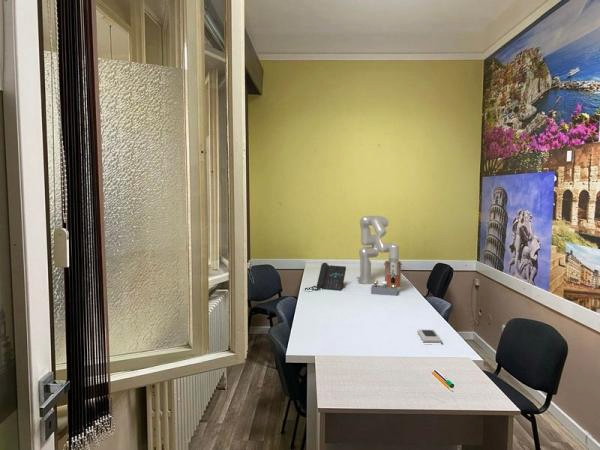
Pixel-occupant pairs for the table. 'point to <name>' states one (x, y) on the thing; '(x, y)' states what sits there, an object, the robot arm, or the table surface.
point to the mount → (384, 290)
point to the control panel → (388, 275)
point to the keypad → (429, 336)
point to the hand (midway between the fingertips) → (393, 282)
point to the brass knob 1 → (375, 283)
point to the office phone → (330, 277)
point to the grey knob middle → (384, 283)
